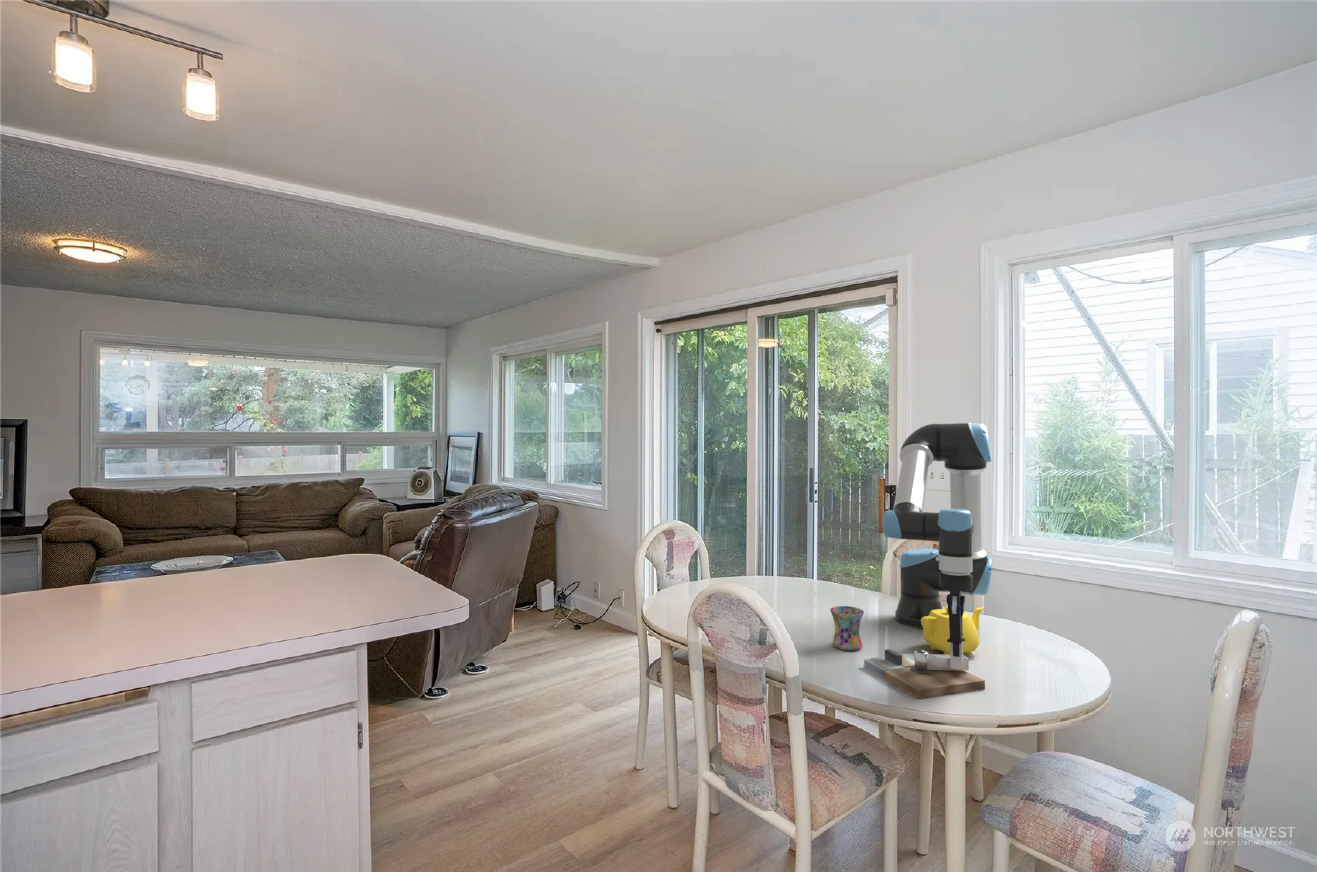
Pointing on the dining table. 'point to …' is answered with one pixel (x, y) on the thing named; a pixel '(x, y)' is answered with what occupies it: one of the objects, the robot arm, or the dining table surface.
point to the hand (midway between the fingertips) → (956, 668)
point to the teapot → (939, 630)
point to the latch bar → (935, 661)
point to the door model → (921, 676)
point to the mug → (847, 627)
